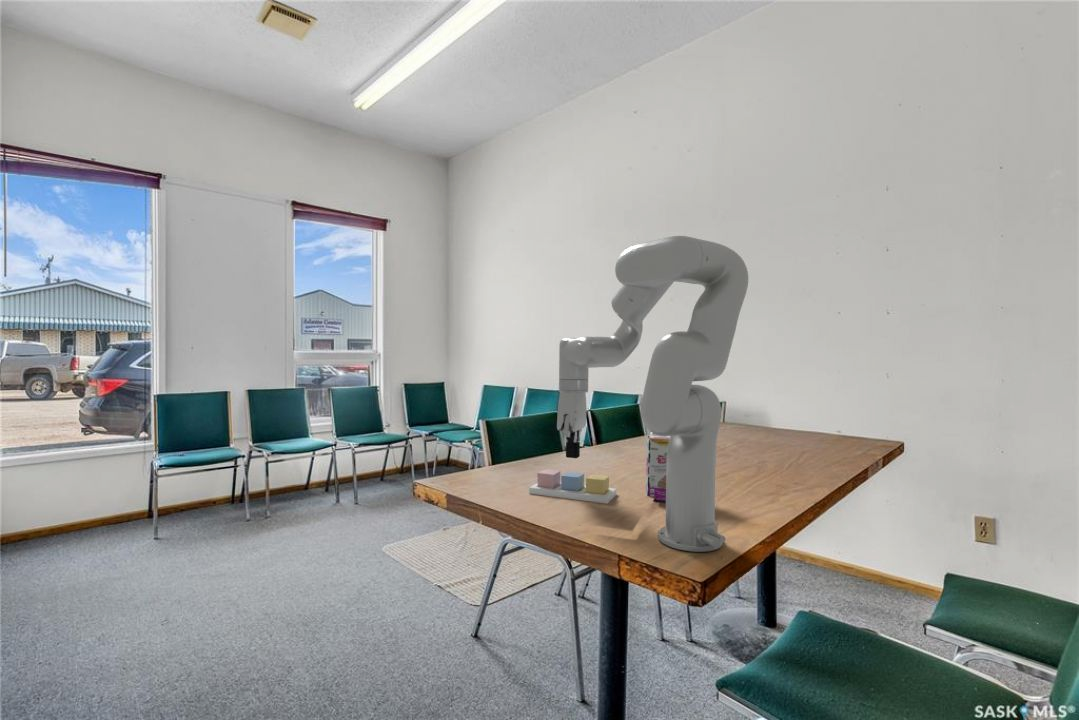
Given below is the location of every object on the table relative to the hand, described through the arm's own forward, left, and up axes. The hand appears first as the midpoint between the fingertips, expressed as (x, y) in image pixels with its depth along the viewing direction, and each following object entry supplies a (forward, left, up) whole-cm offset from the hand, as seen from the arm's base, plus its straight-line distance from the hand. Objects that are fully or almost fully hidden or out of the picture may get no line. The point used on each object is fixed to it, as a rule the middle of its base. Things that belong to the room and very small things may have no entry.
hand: (572, 457), depth 131 cm
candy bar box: (-9, -23, -11) cm, 27 cm away
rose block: (+5, +5, -10) cm, 11 cm away
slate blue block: (0, 0, -10) cm, 10 cm away
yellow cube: (-5, -5, -10) cm, 12 cm away
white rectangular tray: (0, 0, -11) cm, 11 cm away
